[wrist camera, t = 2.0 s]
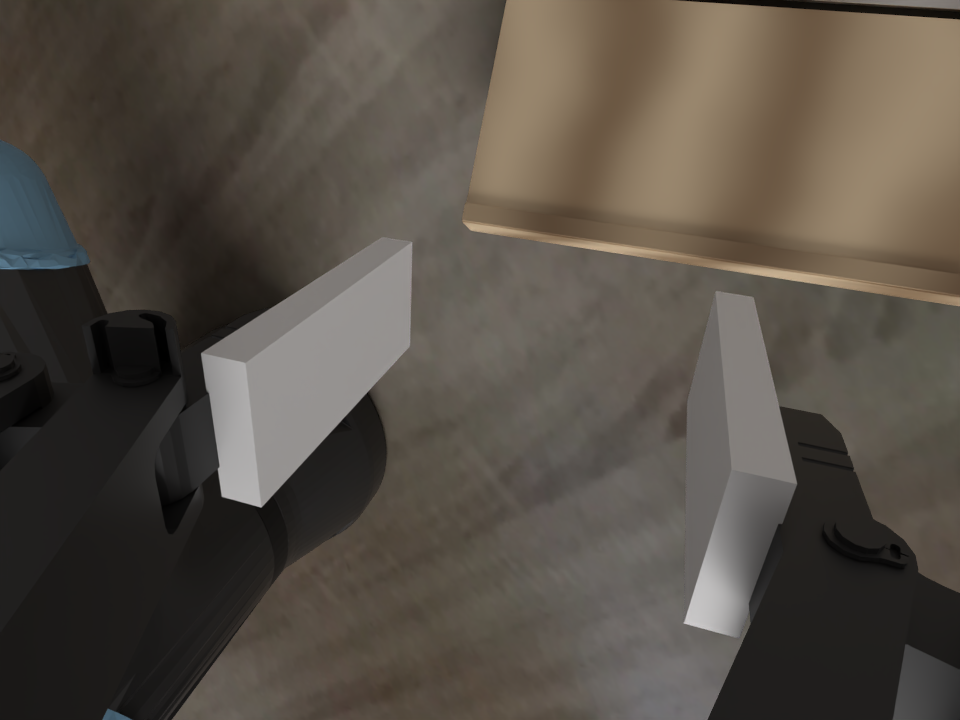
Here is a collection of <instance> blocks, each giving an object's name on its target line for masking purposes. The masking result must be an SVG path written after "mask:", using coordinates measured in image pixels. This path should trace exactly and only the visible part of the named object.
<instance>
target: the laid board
mask: <svg viewBox="0 0 960 720" xmlns="http://www.w3.org/2000/svg"><path fill="white" fill-rule="evenodd" d="M785 1H801V2H816V3H831V4H847V5H862V6H877V7H893V8H908V9H923V10H939V11H954V12H960V0H785Z"/></svg>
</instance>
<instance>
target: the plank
mask: <svg viewBox="0 0 960 720" xmlns="http://www.w3.org/2000/svg"><path fill="white" fill-rule="evenodd" d="M462 220H463V223H464V224H465V225H466V226H467V227H468V228H469V229H470V230H471V231H477V232H483V233H490V234H496V235H502V236H509V237H515V238H522V239H528V240H535V241H541V242H548V243H554V244H561V245H567V246H574V247H580V248H587V249H593V250H599V251H606V252H612V253H619V254H625V255H632V256H638V257H645V258H651V259H658V260H664V261H671V262H677V263H684V264H690V265H696V266H703V267H709V268H716V269H722V270H729V271H735V272H742V273H748V274H755V275H761V276H768V277H774V278H781V279H787V280H794V281H800V282H806V283H813V284H819V285H826V286H832V287H839V288H845V289H852V290H858V291H865V292H871V293H878V294H884V295H891V296H897V297H903V298H910V299H916V300H923V301H929V302H936V303H942V304H949V305H955V306H960V20H959V19H944V18H930V17H915V16H900V15H885V14H870V13H855V12H841V11H826V10H811V9H796V8H781V7H767V6H752V5H737V4H722V3H707V2H692V1H678V0H507V1H506V6H505V11H504V16H503V21H502V26H501V31H500V36H499V41H498V46H497V51H496V56H495V61H494V66H493V71H492V76H491V81H490V86H489V92H488V97H487V102H486V107H485V112H484V117H483V122H482V127H481V132H480V137H479V142H478V147H477V152H476V157H475V162H474V167H473V172H472V177H471V182H470V187H469V192H468V197H467V202H466V203H465V207H464V212H463V217H462Z"/></svg>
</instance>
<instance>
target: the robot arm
mask: <svg viewBox="0 0 960 720" xmlns="http://www.w3.org/2000/svg"><path fill="white" fill-rule="evenodd" d="M88 263H90V260H89V257H88V255H87V251H86V250H85V249H84V248H83V247H82V246H81V245H80V244H77V242H76V240H75V238H74V236H73V234H72V232H71V230H70V228H69V225H68V223H67V221H66V219H65V217H64V215H63V213H62V211H61V209H60V207H59V205H58V202H57V200H56V198H55V196H54V194H53V192H52V190H51V188H50V186H49V184H48V182H47V179H46V177H45V176H44V174H43V172H42V171H41V169H40V168H39V167H38V165H37V164H36V163H35V162H34V161H33V160H32V159H31V158H30V157H29V156H28V155H27V154H25V153H24V152H23V151H21V150H20V149H18V148H16V147H15V146H13V145H11V144H9V143H7V142H4V141H2V140H0V720H172V719H173V717H174V716H175V715H176V713H177V712H178V711H179V709H180V708H181V707H182V705H183V704H184V702H185V701H186V700H187V698H188V697H189V696H190V694H191V693H192V692H193V690H194V689H195V688H196V686H197V685H198V684H199V682H200V681H201V680H202V678H203V677H204V675H205V674H206V673H207V671H208V670H209V669H210V667H211V666H212V665H213V663H214V662H215V661H216V659H217V658H218V657H219V655H220V654H221V653H222V651H223V650H224V649H225V647H226V646H227V644H228V643H229V642H230V640H231V639H232V638H233V636H234V635H235V634H236V632H237V631H238V630H239V628H240V627H241V626H242V624H243V623H244V622H245V620H246V619H247V618H248V616H249V615H250V613H251V612H252V611H253V609H254V608H255V607H256V605H257V604H258V603H259V601H260V600H261V599H262V597H263V596H264V595H265V593H266V592H267V590H268V589H269V588H270V587H271V585H272V584H273V583H274V581H275V580H276V579H277V577H278V576H279V575H280V574H281V572H282V571H283V570H284V569H285V568H286V567H288V566H289V565H291V564H292V563H294V562H295V561H297V560H298V559H300V558H301V557H303V556H304V555H306V554H307V553H309V552H310V551H312V550H313V549H315V548H316V547H318V546H319V545H320V544H322V543H323V542H325V541H326V540H328V539H330V538H332V537H334V536H336V535H338V534H339V533H341V532H343V531H344V530H346V529H347V528H348V527H349V526H351V525H352V524H353V523H354V522H355V521H356V520H357V519H358V518H359V516H360V515H361V514H362V512H363V511H364V510H365V508H366V507H367V505H368V504H369V502H370V501H371V500H372V498H373V497H374V495H375V494H376V492H377V490H378V489H379V487H380V484H381V482H382V479H383V476H384V472H385V466H386V444H385V438H384V433H383V429H382V425H381V422H380V420H379V417H378V415H377V412H376V410H375V408H374V406H373V404H372V402H371V400H370V398H369V397H368V395H367V392H368V391H369V390H370V389H371V388H372V387H373V386H374V385H375V384H376V382H377V381H378V380H379V379H380V378H381V377H382V376H383V375H384V374H385V373H386V372H387V370H388V369H389V368H390V367H391V366H392V365H393V364H394V363H395V362H396V361H397V360H398V358H399V357H400V356H401V355H402V354H403V353H404V352H405V351H406V350H407V349H408V348H409V347H410V323H411V279H412V242H410V241H404V240H398V239H392V238H386V237H382V238H380V239H378V240H377V241H375V242H374V243H372V244H371V245H369V246H368V247H366V248H364V249H363V250H361V251H360V252H358V253H357V254H355V255H353V256H352V257H350V258H349V259H347V260H346V261H344V262H343V263H341V264H339V265H338V266H336V267H335V268H333V269H332V270H330V271H328V272H327V273H325V274H324V275H322V276H321V277H319V278H318V279H316V280H314V281H313V282H311V283H310V284H308V285H307V286H305V287H303V288H302V289H300V290H299V291H297V292H296V293H294V294H293V295H291V296H289V297H288V298H286V299H285V300H283V301H282V302H280V303H278V304H277V305H275V306H274V307H272V308H271V309H270V308H265V309H262V310H259V311H255V312H252V313H249V314H246V315H243V316H241V317H240V318H238V319H236V320H235V321H233V322H232V323H230V324H228V325H226V326H223V327H220V328H217V329H215V330H213V331H211V332H209V333H208V334H206V335H205V336H203V337H201V338H200V339H198V340H196V341H195V342H193V343H191V344H190V345H188V346H187V347H185V348H184V349H183V350H182V351H181V350H180V344H179V338H178V332H177V326H176V321H175V320H174V319H173V318H172V316H170V315H168V314H165V313H163V312H159V311H151V310H127V311H121V312H115V313H109V314H108V313H107V311H106V309H105V306H104V304H103V301H102V299H101V297H100V294H99V292H98V289H97V287H96V285H95V282H94V280H93V278H92V275H91V273H90V270H89V268H88V266H87V264H88ZM847 455H848V451H847V448H846V445H845V443H844V440H843V437H842V435H841V433H840V432H839V431H838V430H837V429H836V428H835V427H834V426H833V425H832V424H831V423H830V422H829V421H828V420H827V419H826V418H825V417H824V416H823V415H821V414H816V413H811V412H806V411H801V410H796V409H790V408H785V407H780V406H779V404H778V400H777V396H776V392H775V387H774V383H773V379H772V374H771V370H770V366H769V362H768V357H767V353H766V349H765V345H764V340H763V336H762V332H761V328H760V323H759V319H758V315H757V311H756V306H755V302H754V298H753V297H750V296H744V295H737V294H731V293H725V292H719V291H715V295H714V299H713V303H712V307H711V311H710V315H709V319H708V323H707V326H706V330H705V334H704V338H703V342H702V346H701V350H700V354H699V358H698V361H697V365H696V369H695V373H694V377H693V381H692V385H691V389H690V393H689V397H688V400H687V450H686V517H685V583H684V623H685V624H688V625H692V626H696V627H699V628H703V629H707V630H710V631H714V632H718V633H721V634H725V635H728V636H732V637H736V638H740V635H741V633H742V630H743V627H744V625H745V622H746V619H747V617H748V614H749V611H750V621H751V625H750V627H749V629H748V631H747V633H746V636H745V638H744V640H743V642H742V645H741V647H740V649H739V651H738V653H737V656H736V658H735V660H734V662H733V665H732V667H731V669H730V671H729V673H728V676H727V678H726V680H725V682H724V684H723V687H722V689H721V691H720V693H719V696H718V698H717V700H716V702H715V704H714V707H713V709H712V711H711V713H710V716H709V718H708V720H960V593H958V592H956V591H953V590H951V589H949V588H947V587H944V586H942V585H940V584H938V583H936V582H934V581H932V580H930V579H928V578H926V577H925V576H923V575H922V574H920V573H918V566H917V561H916V556H915V554H914V553H913V551H912V550H911V549H910V547H909V546H908V545H907V543H906V542H905V541H904V540H903V539H902V538H901V537H900V536H898V535H897V534H896V533H894V532H893V531H892V530H891V529H889V528H888V527H887V526H885V525H883V524H881V523H879V522H877V521H876V520H874V519H873V517H872V515H871V512H870V509H869V507H868V504H867V501H866V499H865V496H864V493H863V491H862V488H861V485H860V483H859V480H858V477H857V475H856V472H853V470H854V467H853V464H852V461H851V459H850V456H847Z"/></svg>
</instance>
